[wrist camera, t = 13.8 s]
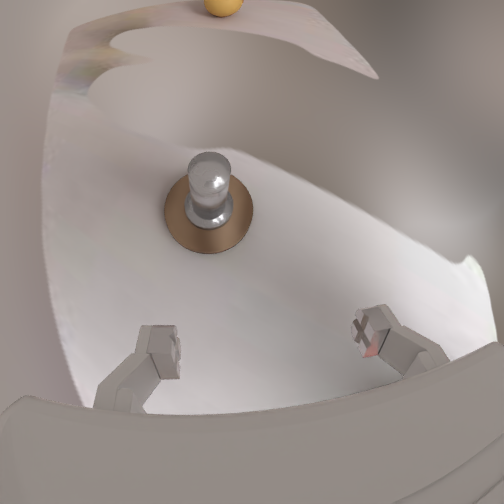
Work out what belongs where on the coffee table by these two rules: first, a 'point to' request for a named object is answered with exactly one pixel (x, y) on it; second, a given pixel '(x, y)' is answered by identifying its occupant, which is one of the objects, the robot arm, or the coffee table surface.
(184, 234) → the base disc
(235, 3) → the stress ball
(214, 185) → the knob
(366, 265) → the coffee table surface
